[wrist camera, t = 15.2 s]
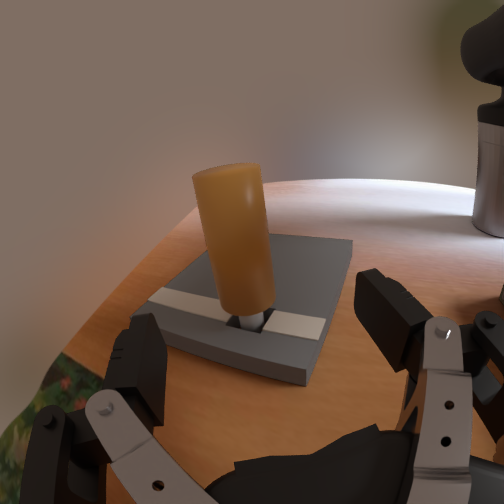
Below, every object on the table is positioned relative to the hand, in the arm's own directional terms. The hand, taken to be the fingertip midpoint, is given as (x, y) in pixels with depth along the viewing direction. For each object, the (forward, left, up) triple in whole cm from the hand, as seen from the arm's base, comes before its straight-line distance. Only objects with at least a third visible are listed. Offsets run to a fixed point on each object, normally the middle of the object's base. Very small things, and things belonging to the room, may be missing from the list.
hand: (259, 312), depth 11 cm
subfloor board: (-14, -8, -10) cm, 19 cm away
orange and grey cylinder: (-8, -6, -10) cm, 14 cm away
